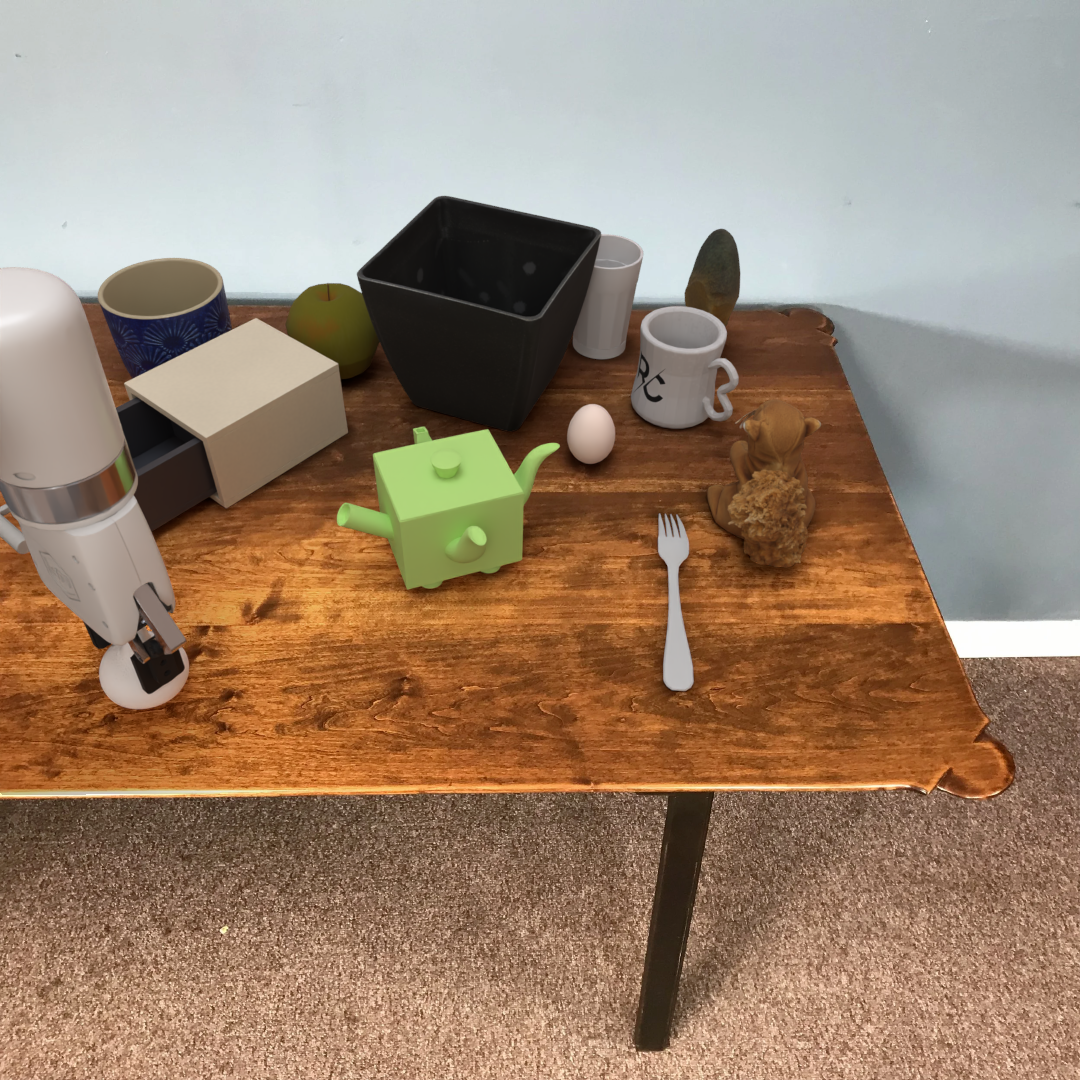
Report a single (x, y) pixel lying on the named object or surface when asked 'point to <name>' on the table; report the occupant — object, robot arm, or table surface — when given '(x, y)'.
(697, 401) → the mug
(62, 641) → the table surface
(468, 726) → the table surface
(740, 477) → the stuffed squirrel
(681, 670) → the fork
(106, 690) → the garlic bulb
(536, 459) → the kettle
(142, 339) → the planter
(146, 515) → the drawer
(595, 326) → the cup
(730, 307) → the decorative stone
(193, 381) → the cabinet
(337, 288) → the apple
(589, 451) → the egg
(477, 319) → the flower pot
